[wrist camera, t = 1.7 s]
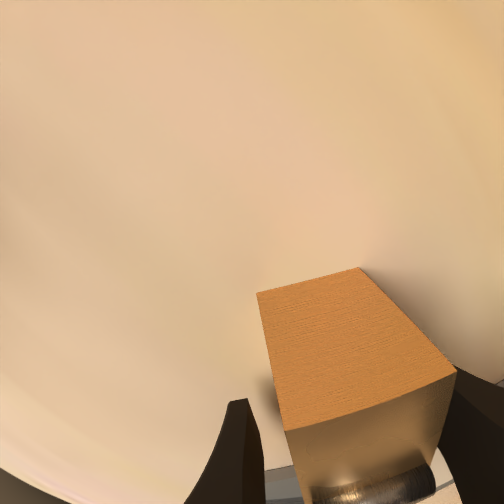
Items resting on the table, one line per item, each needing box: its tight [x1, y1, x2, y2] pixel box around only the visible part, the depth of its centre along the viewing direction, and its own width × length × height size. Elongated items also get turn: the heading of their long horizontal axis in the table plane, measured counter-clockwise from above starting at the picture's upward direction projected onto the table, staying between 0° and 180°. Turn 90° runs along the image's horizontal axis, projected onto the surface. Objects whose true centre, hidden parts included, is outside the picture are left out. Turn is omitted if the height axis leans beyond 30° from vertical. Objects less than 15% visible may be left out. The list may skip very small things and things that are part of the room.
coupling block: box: [256, 267, 457, 504], centre depth 9 cm, size 4×8×7 cm, turn 13°
